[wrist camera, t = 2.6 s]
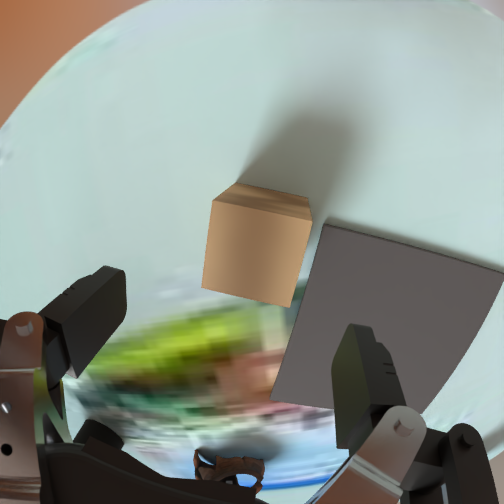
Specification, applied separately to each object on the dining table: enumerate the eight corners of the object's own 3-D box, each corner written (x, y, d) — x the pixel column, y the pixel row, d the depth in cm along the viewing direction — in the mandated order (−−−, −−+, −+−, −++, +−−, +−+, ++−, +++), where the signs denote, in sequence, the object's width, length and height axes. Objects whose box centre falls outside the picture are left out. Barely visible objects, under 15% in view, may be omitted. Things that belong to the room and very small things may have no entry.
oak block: (307, 197, 20) (312, 221, 14) (291, 263, 22) (289, 307, 16) (235, 182, 20) (212, 200, 14) (224, 249, 22) (201, 287, 16)
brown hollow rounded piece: (183, 435, 33) (191, 475, 26) (250, 421, 36) (270, 457, 28) (200, 485, 35) (211, 522, 27) (257, 473, 37) (276, 506, 30)
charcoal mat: (503, 273, 19) (505, 275, 19) (420, 410, 26) (421, 413, 25) (323, 223, 20) (324, 225, 20) (269, 396, 27) (269, 399, 27)
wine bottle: (126, 451, 39) (66, 579, 11) (89, 434, 39) (24, 552, 11) (120, 432, 36) (47, 576, 8) (80, 413, 36) (1, 543, 8)
